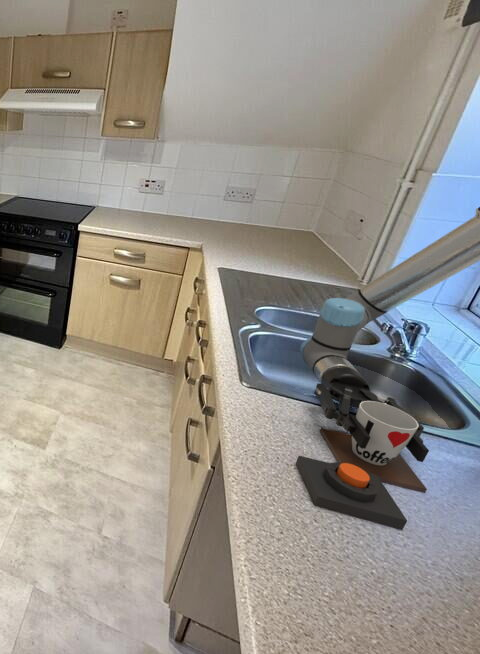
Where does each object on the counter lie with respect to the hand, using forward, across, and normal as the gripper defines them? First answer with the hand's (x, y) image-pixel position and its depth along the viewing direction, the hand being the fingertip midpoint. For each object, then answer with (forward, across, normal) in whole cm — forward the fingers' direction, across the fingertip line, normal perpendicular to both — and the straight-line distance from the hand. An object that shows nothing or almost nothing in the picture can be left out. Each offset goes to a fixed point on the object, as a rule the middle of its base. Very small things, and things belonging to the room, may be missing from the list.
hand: (393, 448), depth 75 cm
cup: (-5, 0, -6) cm, 8 cm away
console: (+7, +8, -7) cm, 13 cm away
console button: (+7, +8, -3) cm, 11 cm away
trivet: (-5, 0, -7) cm, 9 cm away
